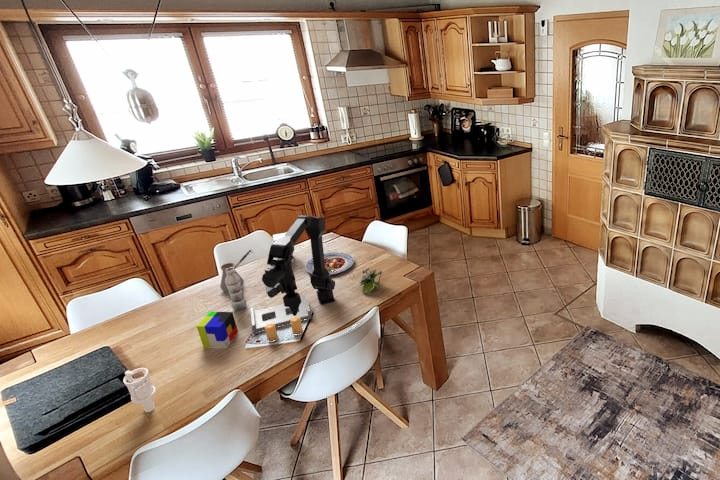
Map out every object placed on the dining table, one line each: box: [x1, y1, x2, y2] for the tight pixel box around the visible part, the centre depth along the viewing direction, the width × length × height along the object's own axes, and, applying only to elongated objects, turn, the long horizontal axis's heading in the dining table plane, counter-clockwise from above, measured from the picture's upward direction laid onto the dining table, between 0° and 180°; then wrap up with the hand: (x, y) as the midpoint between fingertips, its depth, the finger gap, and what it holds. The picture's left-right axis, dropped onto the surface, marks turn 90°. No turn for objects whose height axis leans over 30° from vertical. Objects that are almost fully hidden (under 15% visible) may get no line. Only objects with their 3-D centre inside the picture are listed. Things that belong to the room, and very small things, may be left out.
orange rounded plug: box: [264, 324, 279, 341], centre depth 156 cm, size 4×4×6 cm
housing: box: [250, 294, 313, 334], centre depth 170 cm, size 24×14×4 cm, turn 107°
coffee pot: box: [219, 249, 254, 294], centre depth 200 cm, size 21×12×15 cm, turn 143°
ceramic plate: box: [304, 251, 355, 276], centre depth 210 cm, size 26×26×3 cm
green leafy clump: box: [358, 268, 383, 294], centre depth 183 cm, size 11×11×12 cm
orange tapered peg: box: [290, 317, 304, 335], centre depth 158 cm, size 4×4×6 cm
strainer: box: [122, 367, 157, 413], centre depth 127 cm, size 7×7×15 cm
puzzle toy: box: [196, 311, 239, 349], centre depth 159 cm, size 10×10×10 cm
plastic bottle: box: [225, 267, 247, 311], centre depth 177 cm, size 6×7×20 cm
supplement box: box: [272, 231, 295, 263], centre depth 220 cm, size 9×9×15 cm
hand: (293, 309), depth 155 cm, fingers open, 9 cm apart
